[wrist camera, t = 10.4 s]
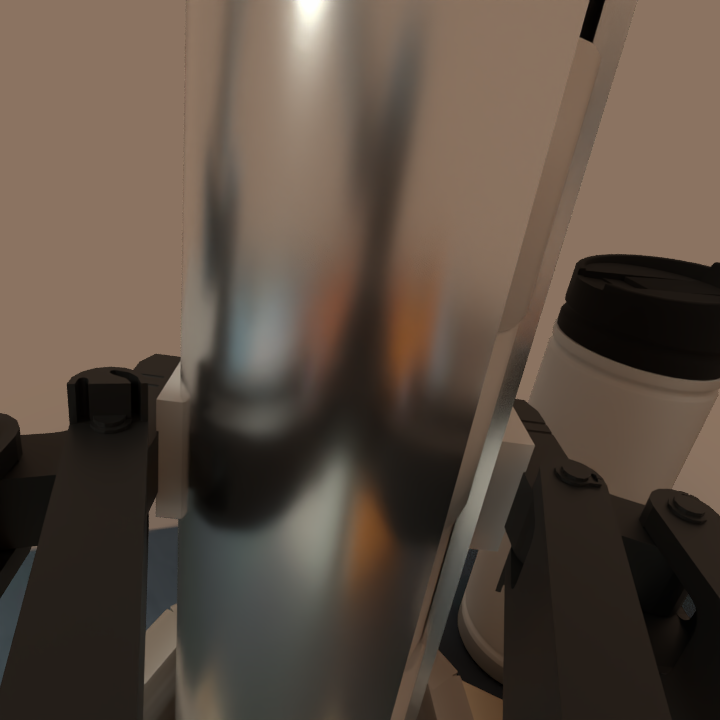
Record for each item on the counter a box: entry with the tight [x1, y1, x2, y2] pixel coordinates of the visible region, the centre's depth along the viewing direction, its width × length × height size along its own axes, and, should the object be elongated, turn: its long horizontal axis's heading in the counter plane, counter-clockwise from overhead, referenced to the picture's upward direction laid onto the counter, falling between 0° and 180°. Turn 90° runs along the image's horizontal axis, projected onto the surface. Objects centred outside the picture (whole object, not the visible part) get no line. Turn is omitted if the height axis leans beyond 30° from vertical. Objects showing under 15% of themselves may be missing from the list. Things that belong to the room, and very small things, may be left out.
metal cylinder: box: [175, 0, 638, 720], centre depth 12 cm, size 6×6×25 cm
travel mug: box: [458, 254, 720, 684], centre depth 24 cm, size 6×7×20 cm
